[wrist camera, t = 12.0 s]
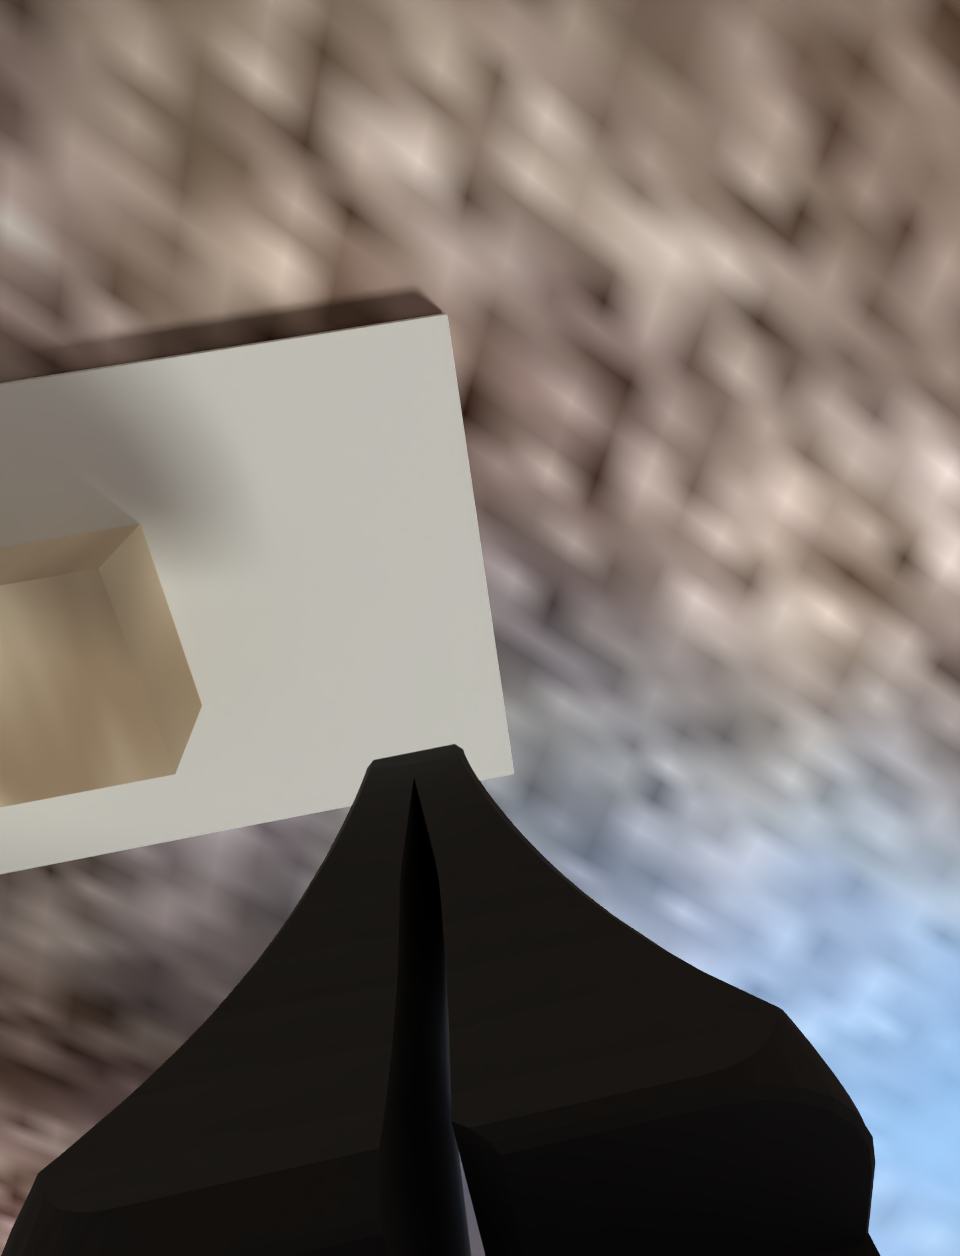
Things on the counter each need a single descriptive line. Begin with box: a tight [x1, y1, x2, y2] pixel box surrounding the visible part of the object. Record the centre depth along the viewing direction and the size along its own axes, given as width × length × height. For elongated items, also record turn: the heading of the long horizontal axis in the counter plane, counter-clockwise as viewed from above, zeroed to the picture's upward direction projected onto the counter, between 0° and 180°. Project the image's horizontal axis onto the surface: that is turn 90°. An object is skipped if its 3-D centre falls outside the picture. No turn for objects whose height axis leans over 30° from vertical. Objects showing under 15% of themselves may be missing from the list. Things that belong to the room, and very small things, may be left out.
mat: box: [0, 313, 514, 874], centre depth 16 cm, size 10×14×1 cm
